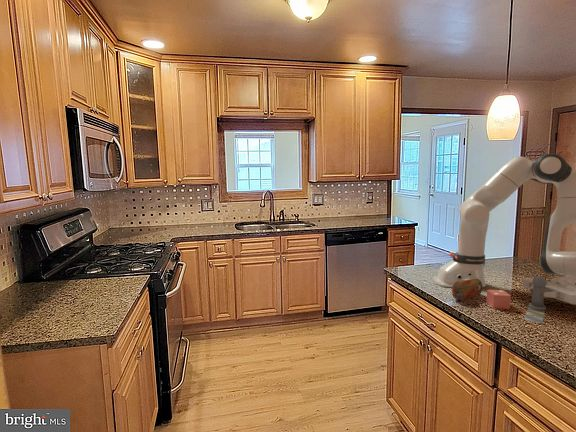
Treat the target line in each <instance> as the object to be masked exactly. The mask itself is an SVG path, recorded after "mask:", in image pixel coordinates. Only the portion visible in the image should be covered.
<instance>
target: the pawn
mask: <svg viewBox="0 0 576 432" xmlns="http://www.w3.org/2000/svg"><path fill="white" fill-rule="evenodd" d="M533 278H534V279H533V281H532V283H533V293H532V294H531V295H532V296H531V302H529V303H528V307H529V308H531V309H530V310H532V309H533V310H534V311H536V310H537V311H538V312H541V311H545V312H546V310H545V309H547V308H546V305H545V304H544V301H545V297H543V296H541V294H542V292H543V291H545V286H546V285H547V281H548V280H547V281H546V278H544V277H543V276H538V275H537V276H535V277H533Z"/></svg>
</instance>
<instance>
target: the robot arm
mask: <svg viewBox="0 0 576 432" xmlns="http://www.w3.org/2000/svg"><path fill="white" fill-rule="evenodd" d="M528 180H531V181H534V182H538V183H540V184H547V185H549V184H553V185H554V186H555V188H556V193H557V195H556V196H557V197H556V199H557V200H556V201H557V203H556V206H555V208H554V210H553V212H552V213H550V215H549V217H548V219H547V224H546V229H545V230H546V231H545V237H544V242H543V248H542V251H541V255H540V258H539V265H540V267H541V269H542V270H543V271H544V272H545V273H547V274H549V275H559V276H556V277H554V278H552V279H551V280H550V281H549V280H546V279H545V280H546V281H547V285H546V286H545V291H543V292H542V294H541V296H543V297H544V298H554V299H556V300H559V301H561V302H564V303H567V304H570V305H576V251H573V250H572V251H567V250H564V251H563V250H562V251H561V250H560V249H561V242H562V235H563V232H564V230H565V229H566V228H568V226H570V225H572V224H575V223H576V170H573V169H572V167H571V166H570V165H569V163H568V161H566V159H565V158H564V157H563V156H561V155H560V154H557V153H545V154H542V155H541V156H539V157H538V158H537V159H536V160H530V159H529V158H527V157H525V156H521V155H520V156H514V157H513V158H511V159H510V160H509V161H507V162H506V163H505V164H503V165H502V166H501V167H500V168H499V169H498V170H496V172H495V173H493V175H492V176H491V177H489V179H488V180H487V181H486V182H485V183H483V184H482V185H481V186H480V187H479V188H478V189H477V190H475V192H473V193H472V194H471V195H470V196H469V197H467V198H466V199H465V200H464V201H463V202H462V203H461V204H460V205H459V208H458V213H459V216H460V222H459V232H458V241H457V252H453V251H450V252H449V256H450V257H451V258H452V260H450V261H449V262H447V263H445V264H444V265H442V266H440V268H439V270H438V273H437V274H438V275H434V276H432V280H433V282H434V283H435V284H436V285H438V286H440V287H443V288H452V287H453V285H454V283H455V282H456V281H458V280H463V279H467V278H476V279H479V280H480V281H481V283H482V288H485V287H486V286H487V283H486V278H485V264H486V255H485V248H486V238H487V237H486V236H487V233H488V227H489V220H490V212H491V211H493V210H494V209H495V208H497V207H498V206H499V205H501V204H502V203H504V202H505V201H506V200H507V199H509V198H510V196H512V195H513V194H514V193H515V192H516V191H517V190H518V189H519V188H520V187H521V186H523V184H524V183H525V182H527V181H528ZM560 275H561V276H560ZM562 275H563V276H562ZM534 278H535V277H525V278H523V279H522V288H524V289H528V292H529V293H532V294H533V283H532V281H533V279H534Z"/></svg>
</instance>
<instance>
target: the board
mask: <svg viewBox="0 0 576 432" xmlns="http://www.w3.org/2000/svg"><path fill="white" fill-rule="evenodd" d="M527 308H528V309H526V313H525V316H524V320H525V321H530V322H533V323H538V324H543V322H544V318H545V313H546V309H547V308H546V309H545V311H537V310H533V309H531V308H529V306H528V307H527Z"/></svg>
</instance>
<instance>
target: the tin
mask: <svg viewBox="0 0 576 432" xmlns="http://www.w3.org/2000/svg"><path fill="white" fill-rule="evenodd" d="M451 288H452V289H451V294H452V297H453V298H454V299H455V300H458V301H460V302H465V301H466V302H467V301H470V300H474V298H473V297H476V296H480V295H481V294H482V292H483V291H482V290H483V287H482V283H481V281H480V280H479V279H476V278H467V279H463V280H458V281H456V282H455V283H454V285H453V287H451Z"/></svg>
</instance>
